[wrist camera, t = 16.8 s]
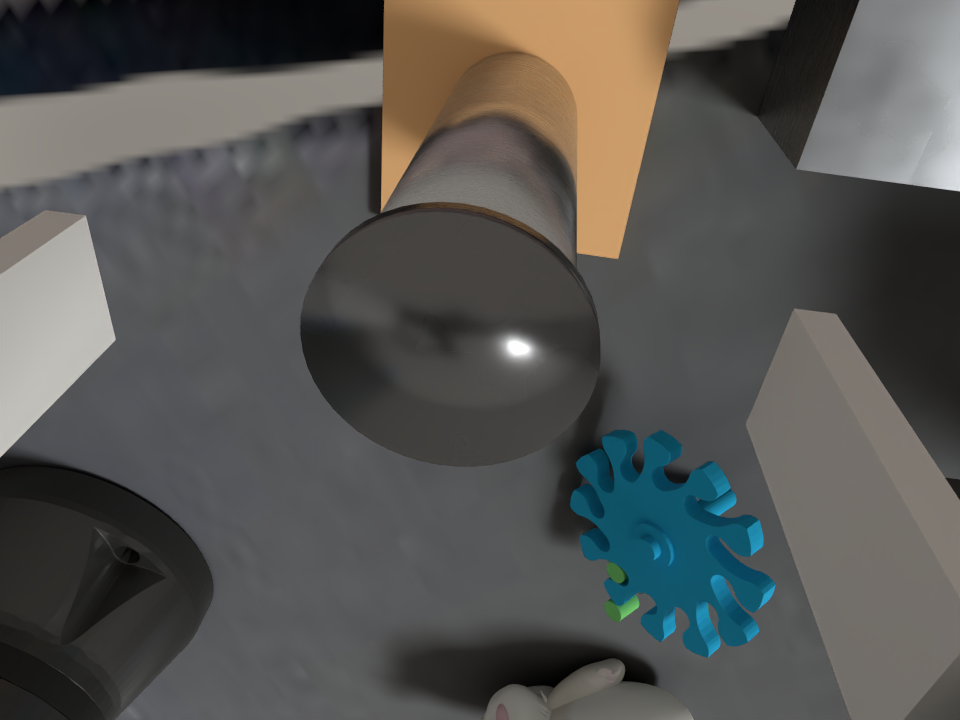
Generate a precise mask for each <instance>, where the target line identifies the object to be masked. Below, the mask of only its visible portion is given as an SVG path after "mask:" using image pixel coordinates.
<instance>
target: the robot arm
mask: <svg viewBox="0 0 960 720" xmlns="http://www.w3.org/2000/svg"><path fill="white" fill-rule="evenodd" d="M115 340H116V339H115V335H114V331H113V327H112V322H111V318H110V314H109V310H108V306H107V302H106V297H105V293H104V289H103V285H102V281H101V277H100V273H99V268H98V264H97V260H96V256H95V252H94V248H93V243H92V239H91V235H90V231H89V227H88V223H87V219H86V216H85V215H78V214H70V213H62V212H55V211H47V210H45V211H43V212H42V213H40V214H39V215H37V216H35V217H34V218H32V219H31V220H29V221H27V222H26V223H24V224H23V225H21V226H19V227H18V228H16V229H15V230H13V231H11V232H10V233H8V234H7V235H5V236H3V237H2V238H0V457H1V456H2V455H3V454H4V453H5V452H6V451H7V450H8V449H9V448H10V447H11V446H12V445H13V444H14V443H15V442H16V441H17V440H18V439H19V438H20V437H21V436H22V435H23V434H24V433H25V432H26V431H27V430H28V429H29V428H30V427H31V426H32V425H33V424H34V423H35V422H36V421H37V420H38V418H39V417H40V416H41V415H42V414H43V413H44V412H45V411H46V410H47V409H48V408H49V407H50V406H51V405H52V404H53V403H54V402H55V401H56V400H57V399H58V398H59V397H60V396H61V395H62V394H63V393H64V392H65V391H66V390H67V389H68V388H69V387H70V386H71V385H72V384H73V383H74V382H75V381H76V380H77V379H78V378H79V377H80V376H81V375H82V374H83V373H84V372H85V371H86V370H87V369H88V368H89V367H90V365H91V364H92V363H93V362H94V361H95V360H96V359H97V358H98V357H99V356H100V355H101V354H102V353H103V352H104V351H105V350H106V349H107V348H108V347H109V346H110V345H111V344H112V343H113V342H114V341H115ZM746 426H747V429H748V432H749V435H750V438H751V440H752V443H753V446H754V449H755V452H756V454H757V457H758V460H759V463H760V466H761V468H762V471H763V474H764V477H765V480H766V482H767V485H768V488H769V491H770V494H771V496H772V499H773V502H774V505H775V508H776V511H777V513H778V516H779V519H780V522H781V525H782V527H783V530H784V533H785V536H786V539H787V541H788V544H789V547H790V550H791V553H792V555H793V558H794V561H795V564H796V567H797V569H798V572H799V575H800V578H801V581H802V583H803V586H804V589H805V592H806V595H807V597H808V600H809V603H810V606H811V609H812V611H813V614H814V617H815V620H816V623H817V625H818V628H819V631H820V634H821V637H822V639H823V642H824V645H825V648H826V651H827V653H828V656H829V659H830V662H831V665H832V667H833V670H834V673H835V676H836V679H837V681H838V684H839V687H840V690H841V693H842V695H843V698H844V701H845V704H846V707H847V709H848V712H849V715H850V718H851V720H960V480H959V479H951V478H945V477H944V476H943V474H942V473H941V471H940V470H939V468H938V467H937V465H936V464H935V462H934V461H933V459H932V458H931V456H930V455H929V453H928V452H927V450H926V449H925V447H924V446H923V444H922V443H921V441H920V440H919V438H918V437H917V435H916V434H915V432H914V430H913V429H912V427H911V426H910V424H909V423H908V421H907V420H906V418H905V417H904V415H903V414H902V412H901V411H900V409H899V408H898V406H897V405H896V403H895V402H894V400H893V399H892V397H891V396H890V394H889V393H888V391H887V390H886V388H885V387H884V385H883V384H882V382H881V381H880V379H879V378H878V376H877V375H876V373H875V372H874V370H873V369H872V367H871V366H870V364H869V363H868V361H867V360H866V358H865V357H864V355H863V354H862V352H861V351H860V349H859V348H858V346H857V345H856V343H855V342H854V340H853V339H852V337H851V336H850V334H849V333H848V331H847V330H846V328H845V327H844V325H843V324H842V322H841V321H840V319H839V318H838V316H837V315H836V314H832V313H825V312H817V311H809V310H802V309H794V310H793V312H792V314H791V317H790V319H789V322H788V324H787V326H786V329H785V331H784V334H783V336H782V339H781V341H780V343H779V346H778V348H777V351H776V353H775V355H774V358H773V360H772V363H771V365H770V367H769V370H768V372H767V375H766V377H765V380H764V382H763V384H762V387H761V389H760V392H759V394H758V396H757V399H756V401H755V404H754V406H753V408H752V411H751V413H750V416H749V418H748V420H747V423H746ZM212 598H213V579H212V575H211V572H210V569H209V567H208V565H207V562H206V560H205V559H204V557H203V555H202V554H201V552H200V551H199V549H198V548H197V546H196V545H195V544H194V543H193V541H192V540H191V539H190V538H189V537H188V536H187V535H186V533H185V532H184V531H183V530H182V529H181V528H179V527H178V526H177V525H176V524H175V523H174V522H173V521H172V520H170V519H169V518H168V517H167V516H165V515H164V514H163V513H161V512H160V511H159V510H157V509H156V508H154V507H153V506H151V505H150V504H148V503H147V502H145V501H143V500H142V499H140V498H138V497H136V496H135V495H133V494H131V493H129V492H127V491H125V490H123V489H121V488H119V487H116V486H114V485H112V484H110V483H107V482H104V481H102V480H99V479H96V478H93V477H90V476H87V475H84V474H80V473H76V472H72V471H68V470H63V469H57V468H50V467H38V466H22V467H12V468H6V469H1V470H0V720H115V719H116V718H117V717H118V716H119V715H120V714H121V713H122V712H123V711H124V710H125V709H126V708H127V707H128V706H129V705H130V704H131V703H132V701H133V700H134V699H135V698H136V697H137V696H138V695H139V694H140V693H141V692H142V691H143V690H144V689H145V688H146V687H147V686H148V685H149V684H150V683H151V682H152V681H153V680H154V679H155V678H156V677H157V676H158V675H159V674H160V673H161V672H162V671H163V670H164V669H165V668H166V667H167V666H168V665H169V664H170V663H171V661H172V660H173V659H174V658H175V657H176V656H177V655H178V654H179V653H180V652H181V651H182V650H183V649H184V648H185V647H186V646H187V645H188V644H189V642H190V641H191V640H192V638H193V637H194V635H195V634H196V632H197V630H198V628H199V626H200V624H201V622H202V620H203V618H204V616H205V614H206V612H207V610H208V608H209V606H210V604H211V602H212Z"/></svg>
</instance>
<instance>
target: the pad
mask: <svg viewBox="0 0 960 720" xmlns="http://www.w3.org/2000/svg"><path fill="white" fill-rule="evenodd" d="M679 1H680V0H384V47H383V114H382V182H381V211H382V210H383V208H384V206H385V205H386V203H387V201H388V199H389V198H390V196H391V194H392V193H393V191H394V189H395V188H396V186H397V184H398V182H399V181H400V179H401V177H402V176H403V174H404V172H405V171H406V169H407V167H408V166H409V164H410V162H411V160H412V159H413V157H414V155H415V154H416V152H417V150H418V149H419V147H420V145H421V143H422V142H423V140H424V138H425V137H426V135H427V133H428V132H429V130H430V128H431V126H432V125H433V123H434V121H435V120H436V118H437V116H438V115H439V113H440V111H441V109H442V108H443V106H444V104H445V103H446V101H447V99H448V98H449V96H450V94H451V92H452V91H453V89H454V87H455V86H456V84H457V82H458V81H459V79H460V78H461V77H462V75H463V74H464V73H465V72H466V71H467V70H468V69H469V68H470V67H471V66H472V65H474V64H475V63H476V62H478V61H480V60H482V59H483V58H485V57H488V56H490V55H493V54H497V53H501V52H523V53H527V54H531V55H534V56H537V57H539V58H541V59H543V60H545V61H546V62H548V63H549V64H551V65H552V66H553V67H554V68H555V69H556V70H558V71H559V72H560V74H561V75H562V76H563V77H564V78H565V80H566V81H567V83H568V85H569V86H570V88H571V91H572V93H573V95H574V99H575V102H576V107H577V121H578V125H577V253H580V254H587V255H594V256H601V257H608V258H616V259H618V257H619V253H620V249H621V244H622V240H623V236H624V232H625V228H626V223H627V219H628V215H629V211H630V207H631V202H632V198H633V194H634V190H635V186H636V181H637V177H638V173H639V169H640V165H641V161H642V156H643V152H644V148H645V144H646V140H647V135H648V131H649V127H650V123H651V119H652V114H653V110H654V106H655V102H656V98H657V93H658V89H659V85H660V81H661V77H662V72H663V68H664V64H665V60H666V56H667V51H668V47H669V43H670V38H671V35H672V30H673V26H674V22H675V18H676V14H677V10H678V5H679Z"/></svg>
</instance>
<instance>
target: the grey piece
mask: <svg viewBox="0 0 960 720" xmlns="http://www.w3.org/2000/svg"><path fill="white" fill-rule="evenodd" d="M758 118H759V120H760V121H761V122H762V124H763V125H764V126H765V128H766V129H767V130H768V132H769V133H770V135H771V136H772V137H773V139H774V140H775V141H776V143H777V144H778V145H779V147H780V148H781V149H782V151H783V152H784V153H785V155H786V156H787V157H788V159H789V160H790V161H791V163H792V164H793V165H794V167H795V168H796V169H798V170H806V171H813V172H821V173H828V174H835V175H843V176H850V177H858V178H865V179H872V180H880V181H887V182H895V183H902V184H909V185H917V186H924V187H931V188H939V189H946V190H954V191H960V0H796V2H795V5H794V8H793V11H792V14H791V17H790V20H789V23H788V26H787V29H786V32H785V35H784V38H783V42H782V45H781V48H780V51H779V54H778V57H777V60H776V63H775V66H774V69H773V72H772V75H771V78H770V81H769V84H768V87H767V91H766V94H765V97H764V100H763V103H762V106H761V109H760V112H759V115H758Z"/></svg>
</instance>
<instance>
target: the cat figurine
mask: <svg viewBox="0 0 960 720" xmlns="http://www.w3.org/2000/svg"><path fill="white" fill-rule="evenodd" d="M624 674H625V666H624V664H623V663H622V662H621V661H620V660H618V659H615V658H610V659H606V660H603V661H599V662H595V663H592V664H588V665H586V666H583V667H582V668H580V669H578V670H576V671H575V672H573V673H572V674H570V675H569V676H567V677H566V678H565V679H563V680H562V681H561V682H560V683H559V684H558V685H557V686H556V687H555V688H553V687H550V686H544V685H539V686H531V687H525V686H522V685H519V684H511V685H508V686H506V687H504V688H502V689H500V690H499V691H497V692H496V693H495V694H494V695H493V696H492V698H491V700H490V701H489V704H488V706H487V710H486V713H485V715H484V716H483V717H482V719H481V720H694V719H693V717H692V715H691V713H690V712H689V711H688V709H687V708H686V707H685V706H684V704H683V703H682V702H681V701H680V700H678V699H677V698H676V697H675V696H673V695H672V694H670V693H669V692H667V691H665V690H663V689H661V688H658V687H656V686H652V685H649V684H645V683H639V682H630V681H622V679H623V677H624Z"/></svg>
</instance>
